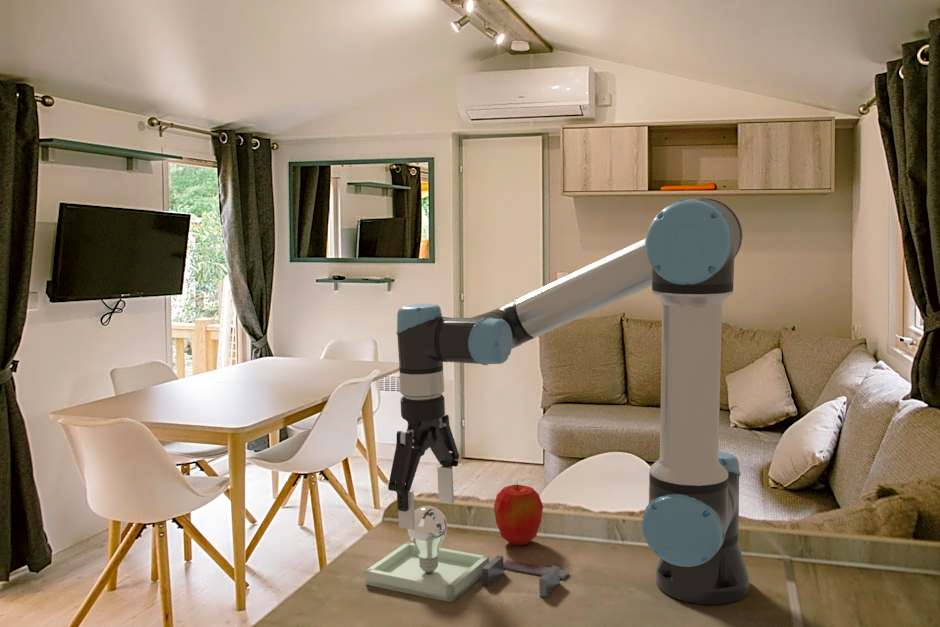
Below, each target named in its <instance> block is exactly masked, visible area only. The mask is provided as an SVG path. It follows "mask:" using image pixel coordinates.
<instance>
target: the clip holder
mask: <svg viewBox="0 0 940 627" xmlns="http://www.w3.org/2000/svg"><path fill="white" fill-rule="evenodd" d="M560 568H561V567H560V566H558V565H552V566H551V567H547V566H543V565H537V564H533V563H527V562H521V561H514V560H510V559H505V560H504V556H503V555H496V556H495V557H494V558H492V559H491V560H489V563H488V564H486V565H485V566H484V567H483V568H482V577H481V578H482V579H481V580H482V586H484V587H485V586H486V587H489V586H490V585H492V584H493V583H494V582H495V581H497V579H499V577H500V576H502V575H503V574H504V572H505V570H509V571H515V572H521V573H526V574H529V575H530V574H532V575H535V576H541V577H540V578H539V579H538V580H539V586H538V587H539V597H542V598H548V597H549V595H550V594H551V593H552V592H553V591H554V590H555V589H556V588H557V587H558V586H559V585H560V583H561V581H560V580H565V579H566V578H567V577H568V576H569V575H570V574H569V572H570V571H569V570H566V569H565V570H564V569H560Z"/></svg>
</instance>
